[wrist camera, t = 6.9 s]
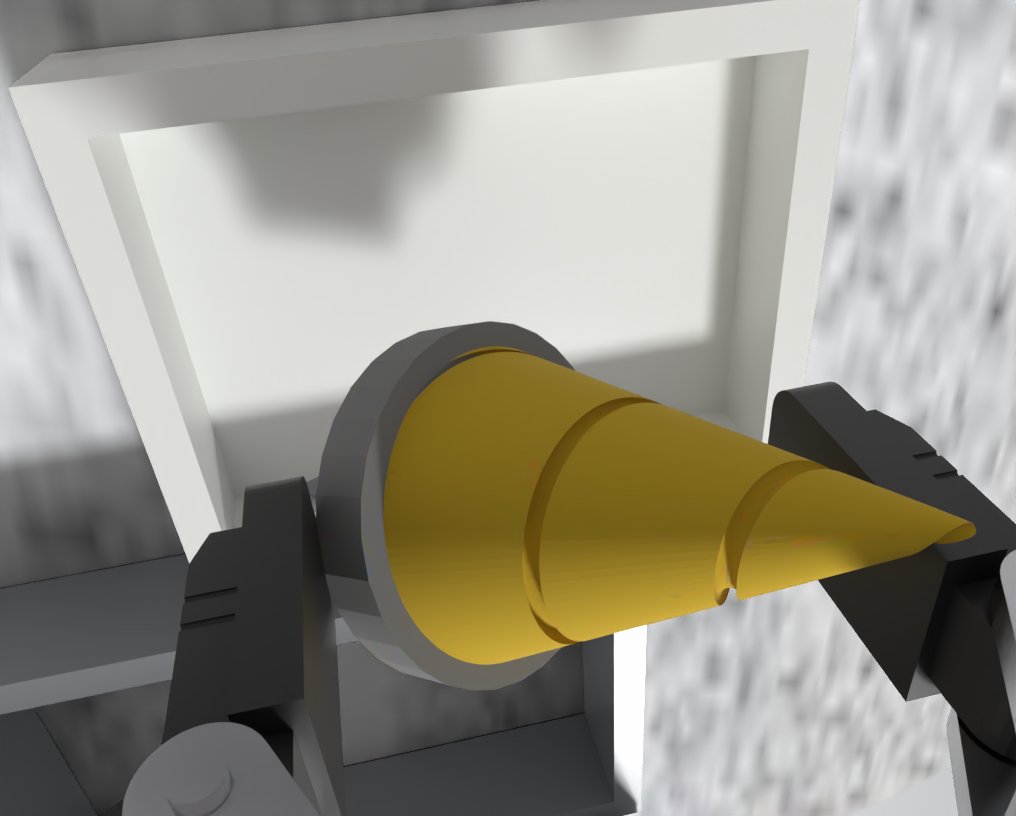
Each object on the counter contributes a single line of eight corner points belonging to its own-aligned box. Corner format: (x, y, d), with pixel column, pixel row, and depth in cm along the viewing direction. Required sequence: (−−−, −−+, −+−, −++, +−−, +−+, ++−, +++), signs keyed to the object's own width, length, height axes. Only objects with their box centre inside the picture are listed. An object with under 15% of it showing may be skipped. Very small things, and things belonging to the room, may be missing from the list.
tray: (788, -27, 16) (861, -10, 14) (742, 418, 21) (790, 478, 19) (50, 53, 14) (8, 87, 12) (210, 515, 20) (200, 592, 17)
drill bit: (221, 316, 13) (880, 185, 7) (462, 365, 17) (1029, 313, 11) (192, 666, 13) (877, 905, 6) (448, 634, 17) (1036, 758, 10)
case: (608, 475, 21) (648, 556, 19) (609, 723, 27) (641, 811, 24) (-72, 602, 19) (-126, 711, 17) (82, 843, 25) (58, 951, 22)
